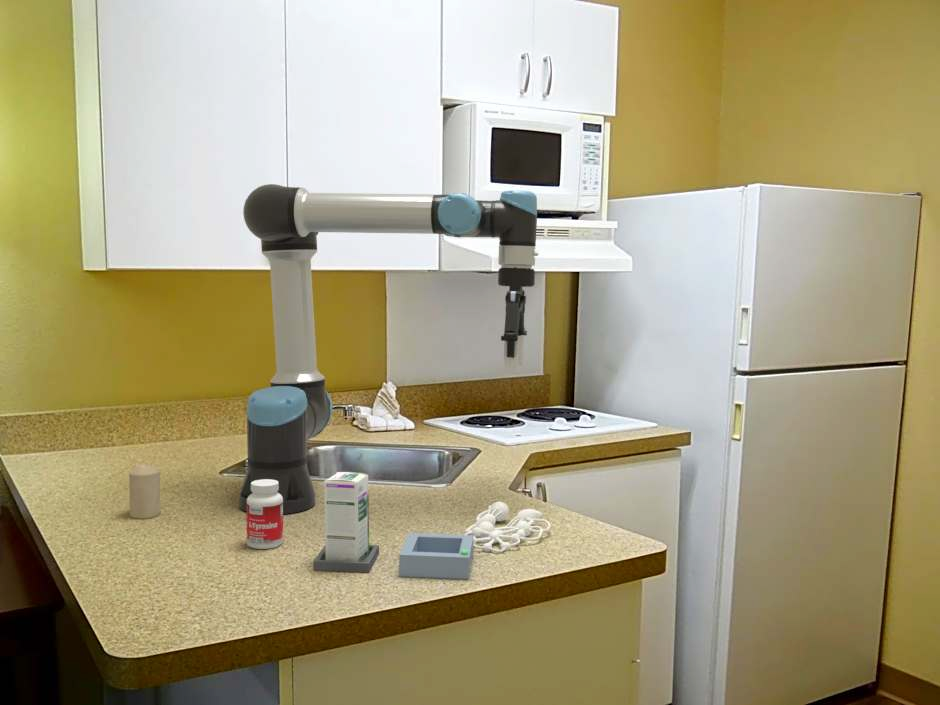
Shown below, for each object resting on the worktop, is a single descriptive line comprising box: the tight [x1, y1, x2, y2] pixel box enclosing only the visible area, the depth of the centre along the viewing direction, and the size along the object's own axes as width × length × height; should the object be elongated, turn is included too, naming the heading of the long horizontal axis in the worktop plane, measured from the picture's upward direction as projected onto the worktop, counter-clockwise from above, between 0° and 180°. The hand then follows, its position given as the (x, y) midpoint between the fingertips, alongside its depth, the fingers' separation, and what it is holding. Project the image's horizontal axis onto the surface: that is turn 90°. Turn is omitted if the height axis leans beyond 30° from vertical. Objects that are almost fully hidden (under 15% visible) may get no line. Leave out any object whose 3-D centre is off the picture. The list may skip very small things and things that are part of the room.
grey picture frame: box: [312, 544, 380, 574], centre depth 139 cm, size 9×9×2 cm
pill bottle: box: [246, 479, 284, 550], centre depth 146 cm, size 6×6×11 cm
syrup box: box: [323, 471, 370, 562], centre depth 138 cm, size 6×6×14 cm
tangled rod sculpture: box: [463, 501, 552, 554], centre depth 153 cm, size 19×14×4 cm
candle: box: [128, 462, 161, 520], centre depth 162 cm, size 6×6×10 cm
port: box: [398, 532, 474, 580], centre depth 137 cm, size 11×11×4 cm
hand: (513, 369), depth 175 cm, fingers open, 13 cm apart
